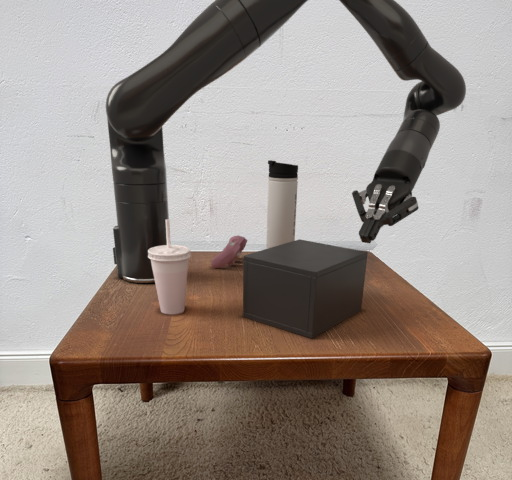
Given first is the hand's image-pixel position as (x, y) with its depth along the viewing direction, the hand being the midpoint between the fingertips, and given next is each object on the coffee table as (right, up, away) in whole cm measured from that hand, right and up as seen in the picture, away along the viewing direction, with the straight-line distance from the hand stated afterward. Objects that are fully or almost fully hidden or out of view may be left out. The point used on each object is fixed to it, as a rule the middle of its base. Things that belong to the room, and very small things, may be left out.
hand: (364, 240), depth 86 cm
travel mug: (-14, +2, +24) cm, 28 cm away
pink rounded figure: (-25, -2, +16) cm, 30 cm away
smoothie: (-32, -13, -9) cm, 36 cm away
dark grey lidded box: (-12, -14, -10) cm, 21 cm away
